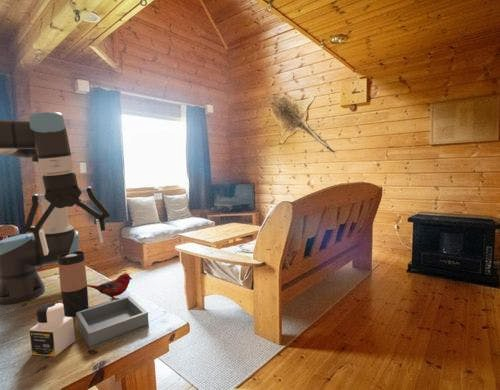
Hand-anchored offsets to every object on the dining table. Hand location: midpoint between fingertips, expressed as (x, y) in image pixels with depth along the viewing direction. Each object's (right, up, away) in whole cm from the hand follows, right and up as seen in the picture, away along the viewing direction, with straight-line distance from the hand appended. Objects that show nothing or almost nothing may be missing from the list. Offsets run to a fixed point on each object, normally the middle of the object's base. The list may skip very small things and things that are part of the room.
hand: (75, 247), depth 84 cm
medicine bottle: (-4, -27, -3) cm, 27 cm away
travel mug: (-10, -25, +17) cm, 32 cm away
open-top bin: (+7, -25, +7) cm, 27 cm away
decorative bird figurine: (-2, -24, +25) cm, 35 cm away
